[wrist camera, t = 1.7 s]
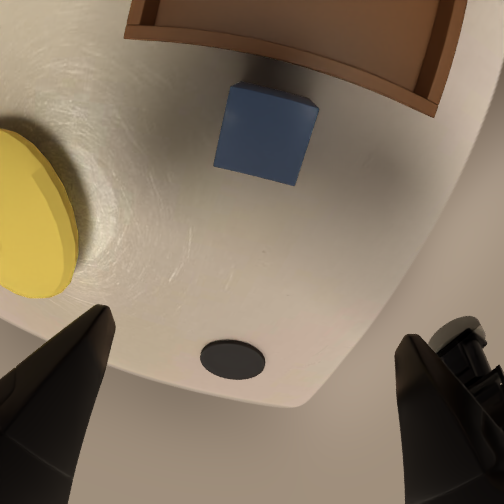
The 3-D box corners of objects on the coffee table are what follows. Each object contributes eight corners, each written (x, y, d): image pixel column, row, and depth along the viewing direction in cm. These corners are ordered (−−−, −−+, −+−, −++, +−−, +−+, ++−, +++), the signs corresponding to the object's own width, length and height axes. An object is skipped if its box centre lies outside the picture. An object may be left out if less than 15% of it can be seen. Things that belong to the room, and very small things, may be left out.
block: (291, 161, 18) (294, 186, 14) (225, 145, 17) (212, 166, 14) (310, 98, 15) (319, 108, 12) (240, 80, 15) (230, 85, 12)
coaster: (277, 356, 28) (277, 359, 28) (244, 382, 32) (244, 385, 31) (218, 331, 27) (217, 334, 27) (191, 362, 30) (190, 365, 30)
